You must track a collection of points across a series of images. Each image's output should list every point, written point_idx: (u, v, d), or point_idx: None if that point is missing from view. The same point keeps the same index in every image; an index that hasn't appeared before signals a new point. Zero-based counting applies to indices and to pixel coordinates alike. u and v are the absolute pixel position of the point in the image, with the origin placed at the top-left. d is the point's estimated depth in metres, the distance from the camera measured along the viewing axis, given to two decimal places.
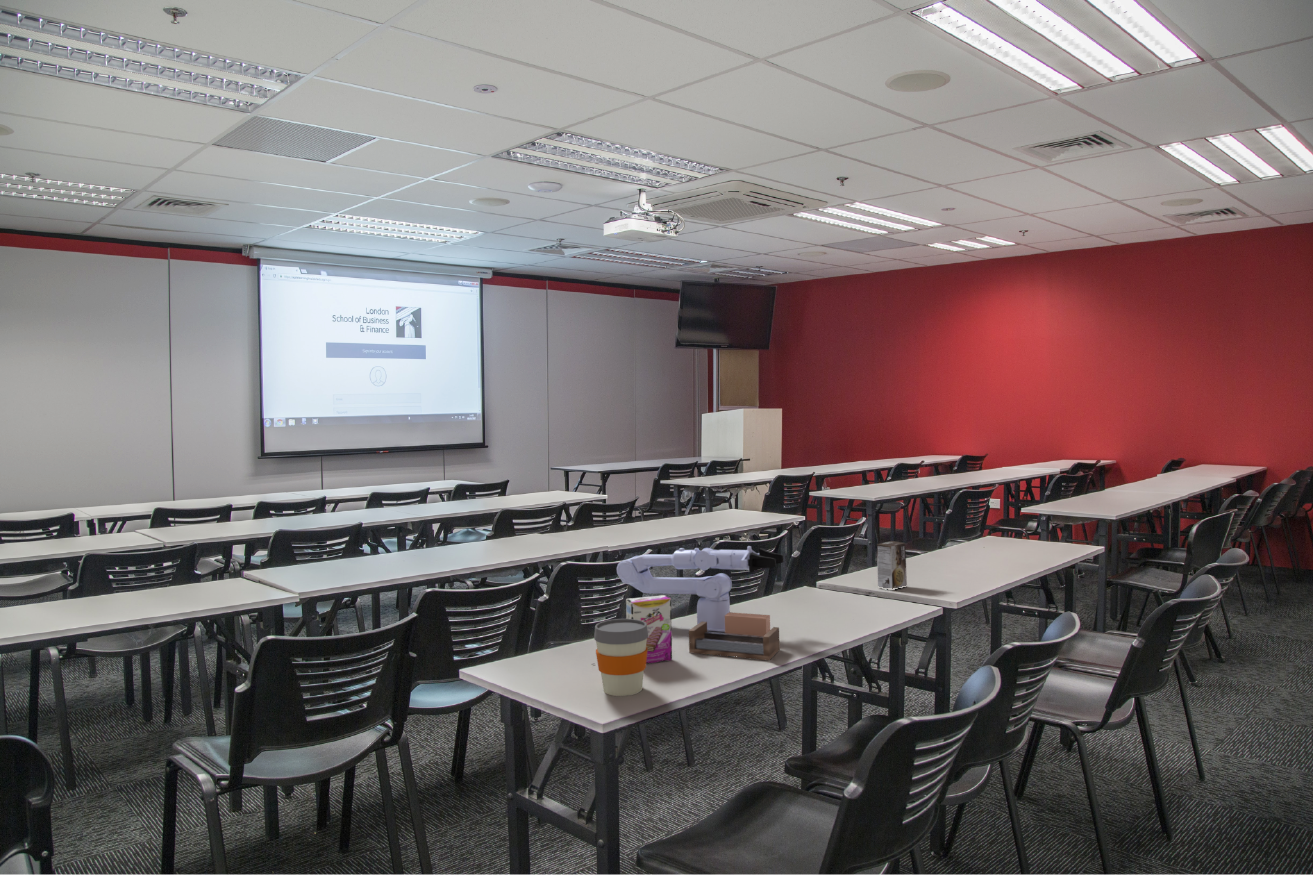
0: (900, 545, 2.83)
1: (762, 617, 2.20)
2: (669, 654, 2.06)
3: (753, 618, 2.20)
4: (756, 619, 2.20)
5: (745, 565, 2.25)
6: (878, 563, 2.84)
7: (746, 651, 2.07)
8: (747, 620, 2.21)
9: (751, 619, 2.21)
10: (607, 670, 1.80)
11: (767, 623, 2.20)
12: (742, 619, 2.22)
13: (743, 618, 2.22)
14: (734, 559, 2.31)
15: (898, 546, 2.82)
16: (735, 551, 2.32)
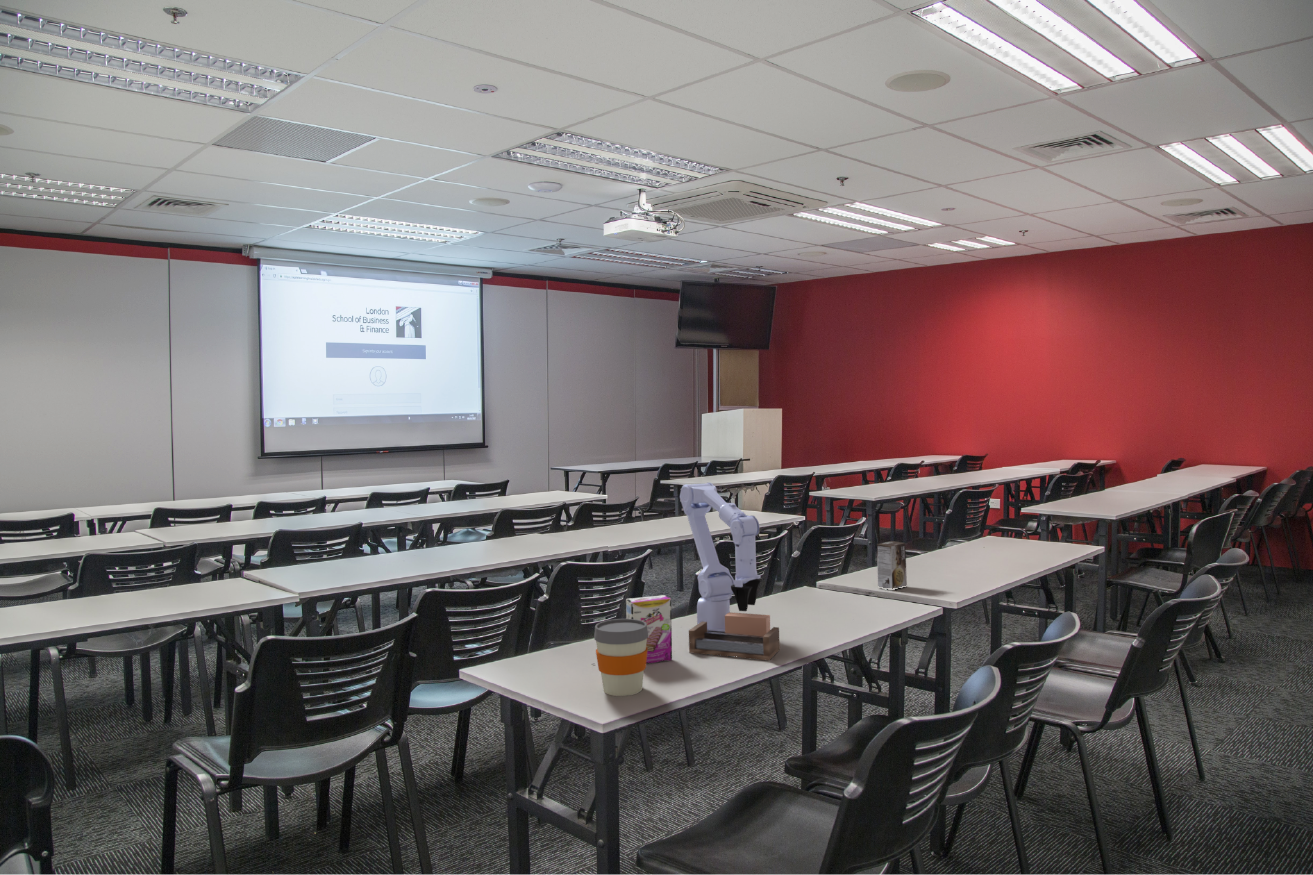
0: (900, 545, 2.83)
1: (762, 617, 2.20)
2: (669, 654, 2.06)
3: (753, 618, 2.20)
4: (756, 619, 2.20)
5: (736, 585, 2.17)
6: (878, 563, 2.84)
7: (746, 651, 2.07)
8: (748, 620, 2.21)
9: (751, 619, 2.21)
10: (607, 670, 1.80)
11: (767, 623, 2.20)
12: (742, 619, 2.22)
13: (743, 618, 2.22)
14: (744, 564, 2.20)
15: (898, 546, 2.82)
16: (752, 564, 2.21)
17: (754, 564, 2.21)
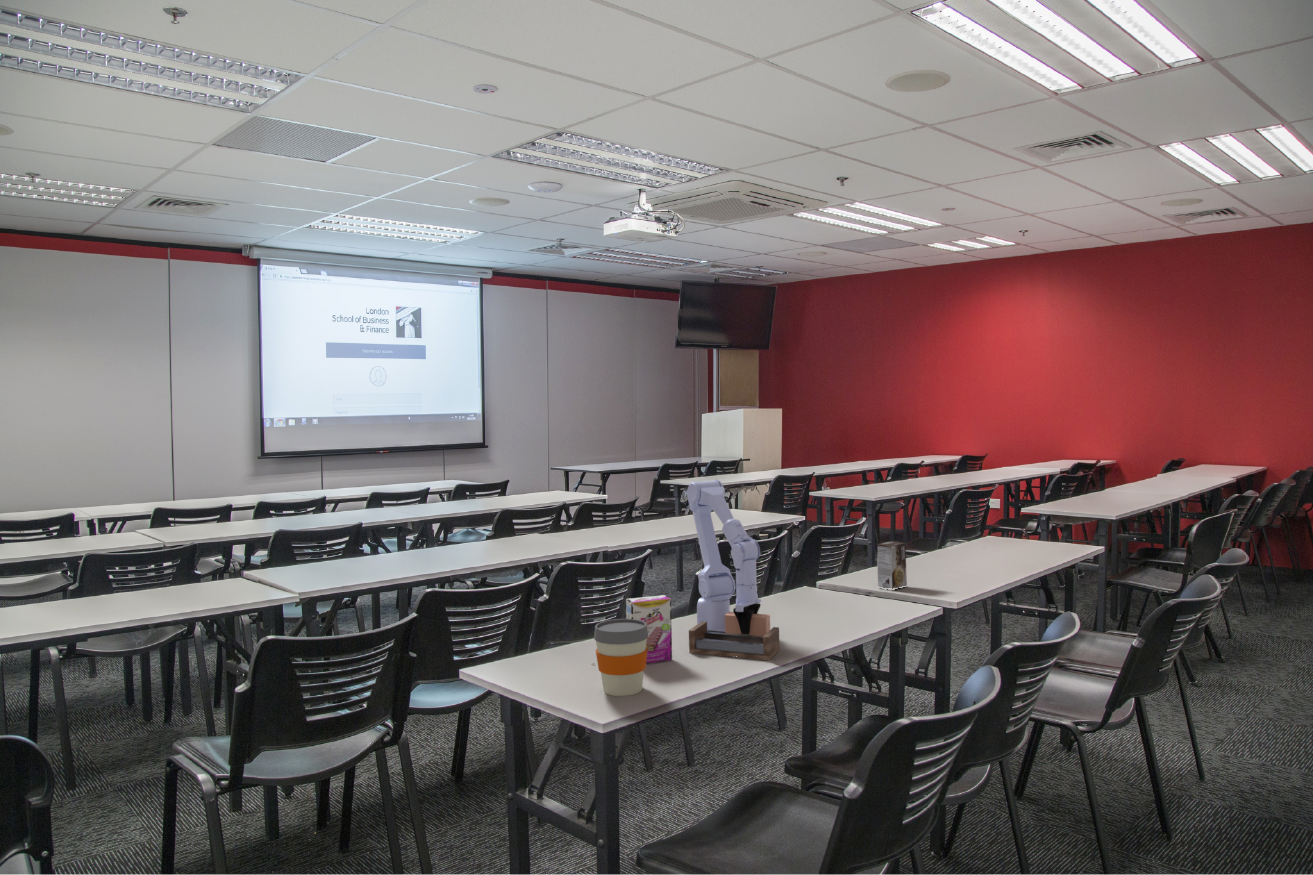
0: (900, 545, 2.83)
1: (762, 617, 2.20)
2: (669, 654, 2.06)
3: (753, 618, 2.20)
4: (756, 619, 2.20)
5: (737, 610, 2.17)
6: (878, 563, 2.84)
7: (746, 651, 2.07)
8: None
9: (751, 619, 2.21)
10: (607, 670, 1.80)
11: (767, 623, 2.20)
12: None
13: None
14: (745, 589, 2.20)
15: (898, 546, 2.82)
16: (753, 588, 2.21)
17: (755, 588, 2.21)
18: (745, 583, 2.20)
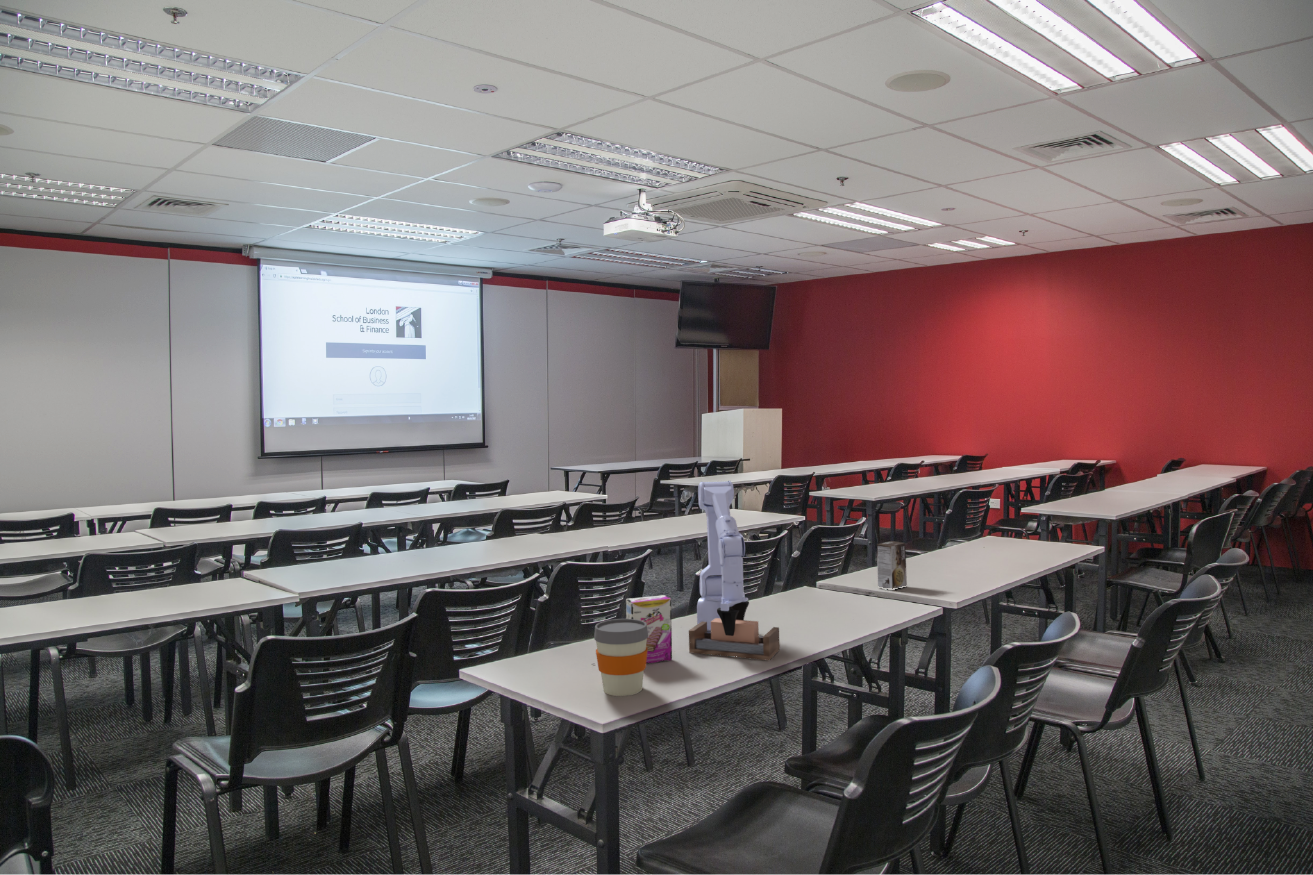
0: (900, 545, 2.83)
1: (750, 623, 2.09)
2: (669, 654, 2.06)
3: (740, 624, 2.09)
4: (743, 626, 2.09)
5: (722, 609, 2.06)
6: (878, 563, 2.84)
7: (746, 651, 2.07)
8: (735, 626, 2.10)
9: (738, 626, 2.10)
10: (607, 670, 1.80)
11: (755, 630, 2.09)
12: None
13: None
14: (730, 587, 2.09)
15: (898, 546, 2.82)
16: (739, 586, 2.10)
17: (741, 586, 2.10)
18: (727, 580, 2.10)
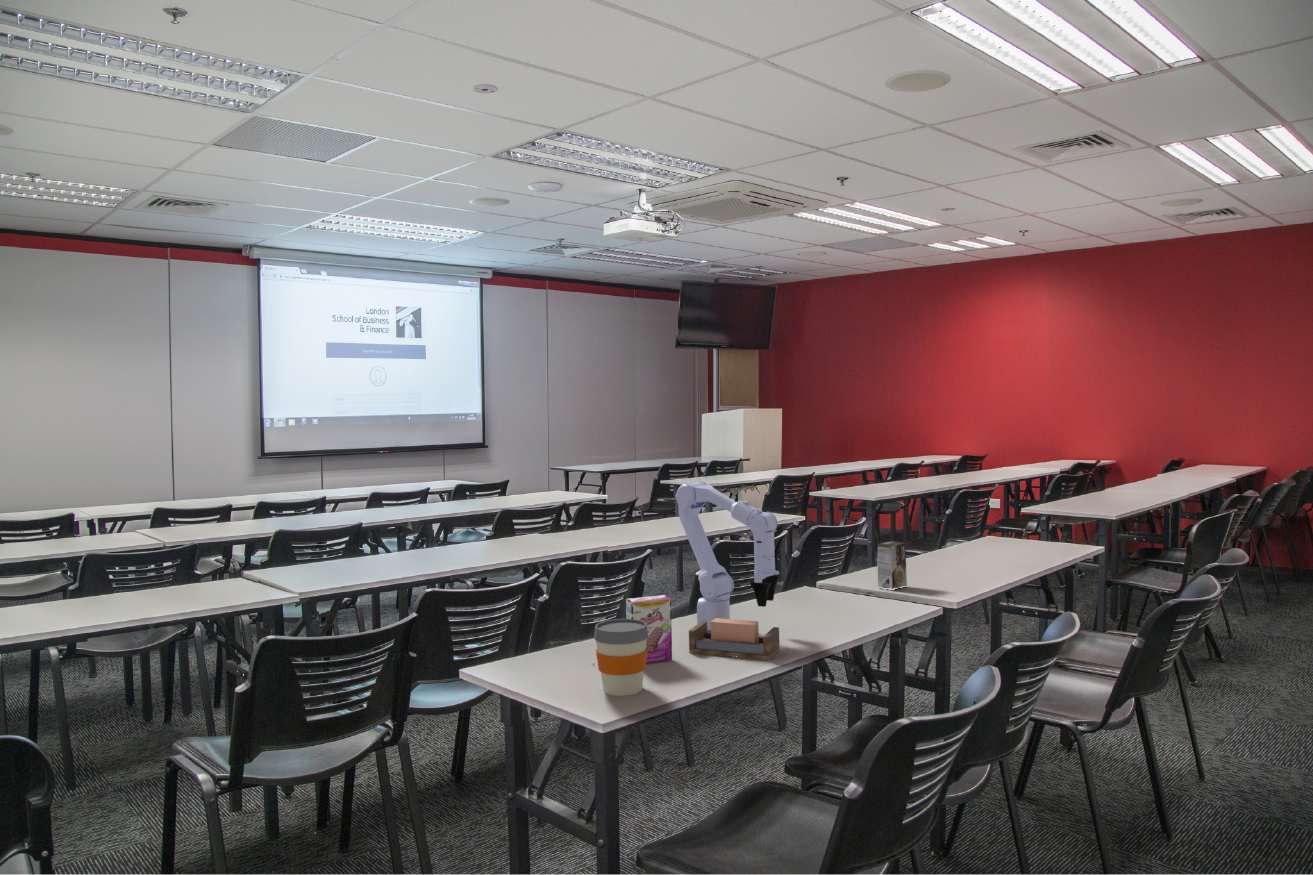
0: (900, 545, 2.83)
1: (750, 623, 2.09)
2: (669, 654, 2.06)
3: (740, 624, 2.09)
4: (743, 626, 2.09)
5: (755, 581, 2.20)
6: (878, 563, 2.84)
7: (746, 651, 2.07)
8: (735, 626, 2.10)
9: (738, 626, 2.10)
10: (607, 669, 1.80)
11: (755, 630, 2.09)
12: (729, 625, 2.11)
13: (730, 624, 2.11)
14: (763, 560, 2.23)
15: (898, 546, 2.82)
16: (771, 560, 2.24)
17: (773, 560, 2.24)
18: (767, 555, 2.23)
